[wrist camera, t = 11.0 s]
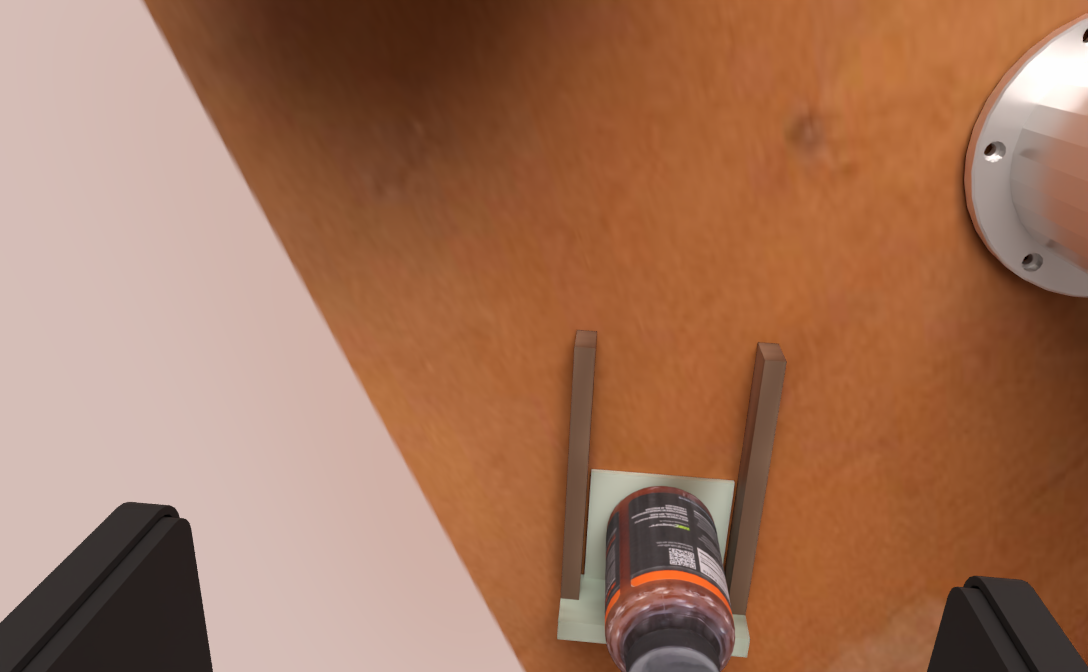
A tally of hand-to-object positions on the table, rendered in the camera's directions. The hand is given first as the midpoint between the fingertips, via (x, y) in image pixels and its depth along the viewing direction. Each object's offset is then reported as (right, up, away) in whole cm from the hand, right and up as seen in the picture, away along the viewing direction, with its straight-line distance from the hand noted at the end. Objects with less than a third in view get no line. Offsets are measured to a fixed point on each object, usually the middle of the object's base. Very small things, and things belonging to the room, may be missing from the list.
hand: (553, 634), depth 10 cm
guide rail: (+6, -3, +34) cm, 34 cm away
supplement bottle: (+6, -7, +35) cm, 36 cm away
